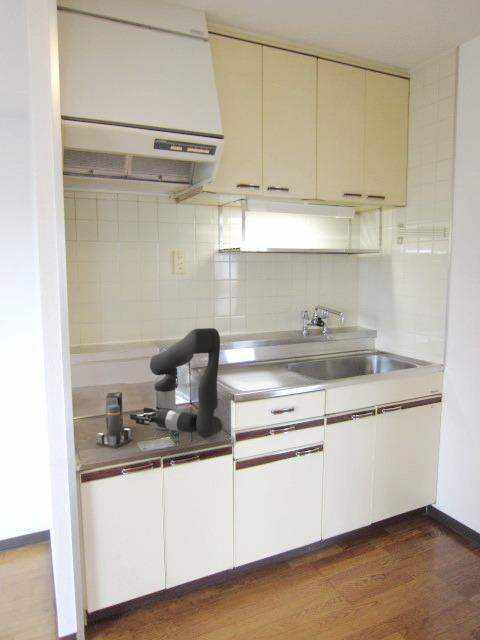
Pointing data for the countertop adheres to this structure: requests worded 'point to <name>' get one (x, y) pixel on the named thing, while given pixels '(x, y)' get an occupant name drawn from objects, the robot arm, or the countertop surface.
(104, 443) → the bracket
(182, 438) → the countertop surface
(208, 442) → the countertop surface
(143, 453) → the countertop surface
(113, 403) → the coffee box
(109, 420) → the tube
